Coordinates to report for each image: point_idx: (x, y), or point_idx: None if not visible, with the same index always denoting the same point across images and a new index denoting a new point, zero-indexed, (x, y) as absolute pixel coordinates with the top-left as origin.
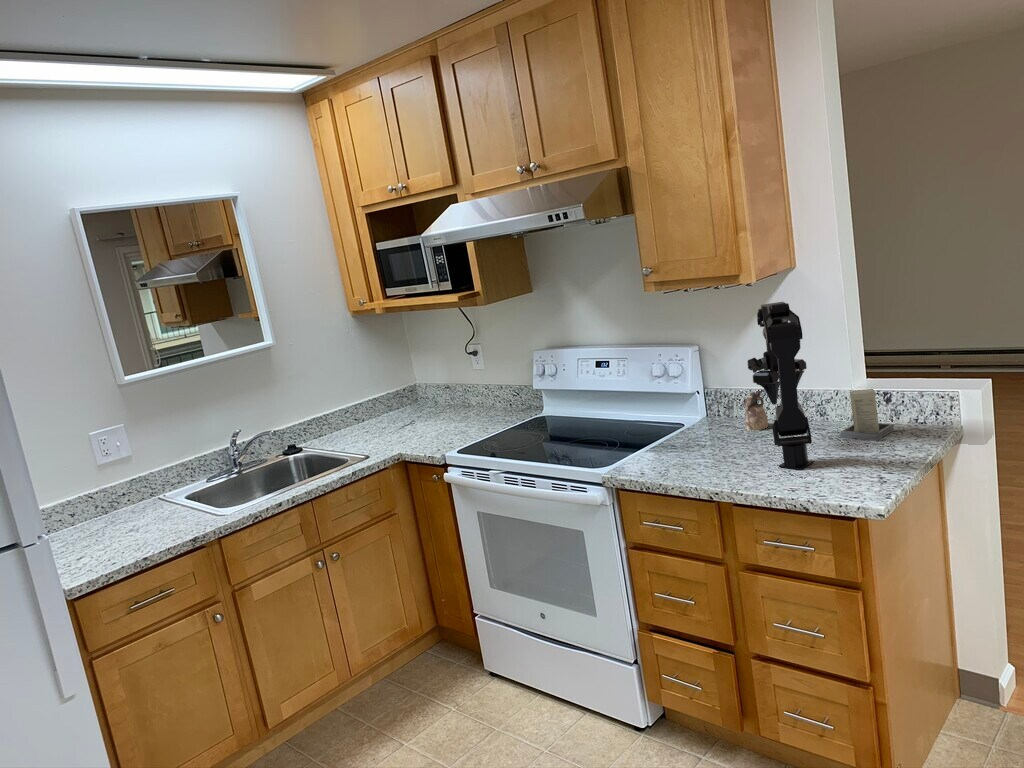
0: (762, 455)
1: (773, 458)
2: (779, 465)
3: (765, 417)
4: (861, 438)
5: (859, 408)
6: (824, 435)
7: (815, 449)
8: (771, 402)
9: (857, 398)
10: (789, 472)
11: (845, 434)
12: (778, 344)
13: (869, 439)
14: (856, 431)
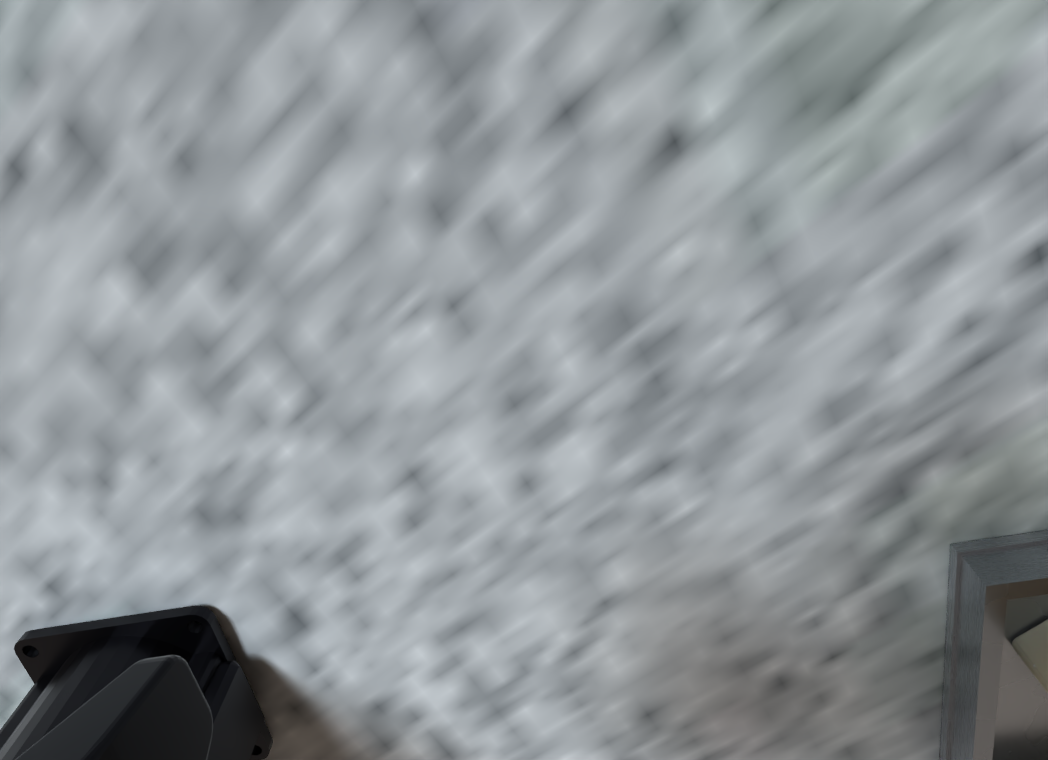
0: (123, 302)
1: (140, 450)
2: (16, 648)
3: None
4: (947, 695)
5: None
6: (982, 382)
7: (549, 573)
8: (99, 702)
9: None
10: None
11: (969, 602)
12: None
13: (941, 742)
14: (1032, 671)
